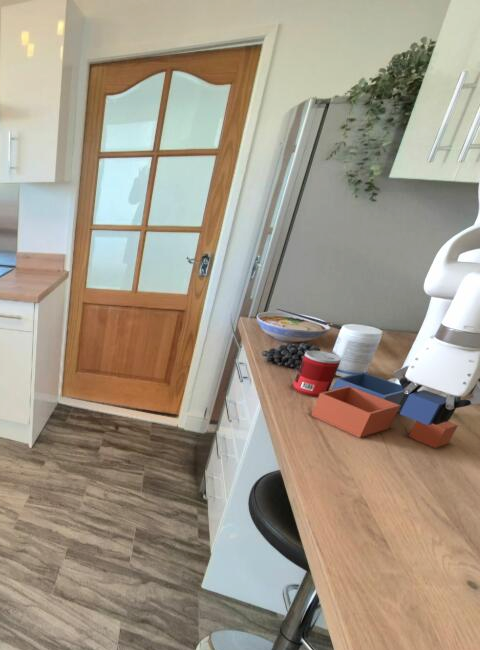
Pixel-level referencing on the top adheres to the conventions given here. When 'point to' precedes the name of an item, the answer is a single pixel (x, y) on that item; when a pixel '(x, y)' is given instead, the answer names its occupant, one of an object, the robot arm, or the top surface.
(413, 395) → the blue block
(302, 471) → the top surface
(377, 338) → the supplement tub
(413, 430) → the terracotta block
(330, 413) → the terracotta bin
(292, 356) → the fruit
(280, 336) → the ramen bowl
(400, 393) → the blue bin
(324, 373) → the canned food
